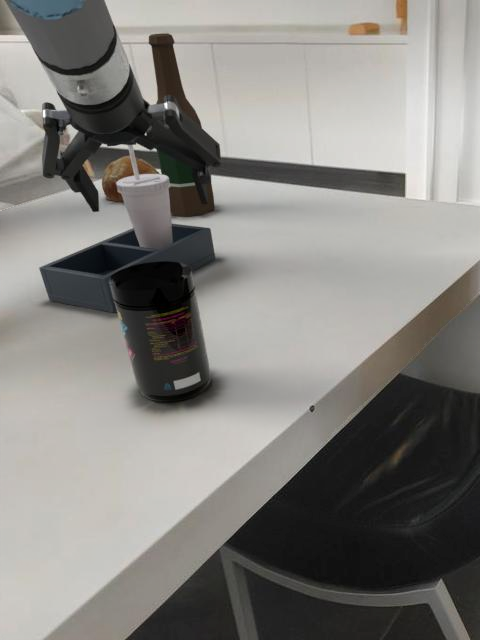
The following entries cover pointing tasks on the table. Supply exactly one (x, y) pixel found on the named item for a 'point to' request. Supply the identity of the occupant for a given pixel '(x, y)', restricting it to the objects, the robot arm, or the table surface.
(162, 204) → the smoothie
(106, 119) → the robot arm
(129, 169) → the bread roll
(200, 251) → the compartment tray
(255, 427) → the table surface
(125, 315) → the supplement container
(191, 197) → the beer bottle
